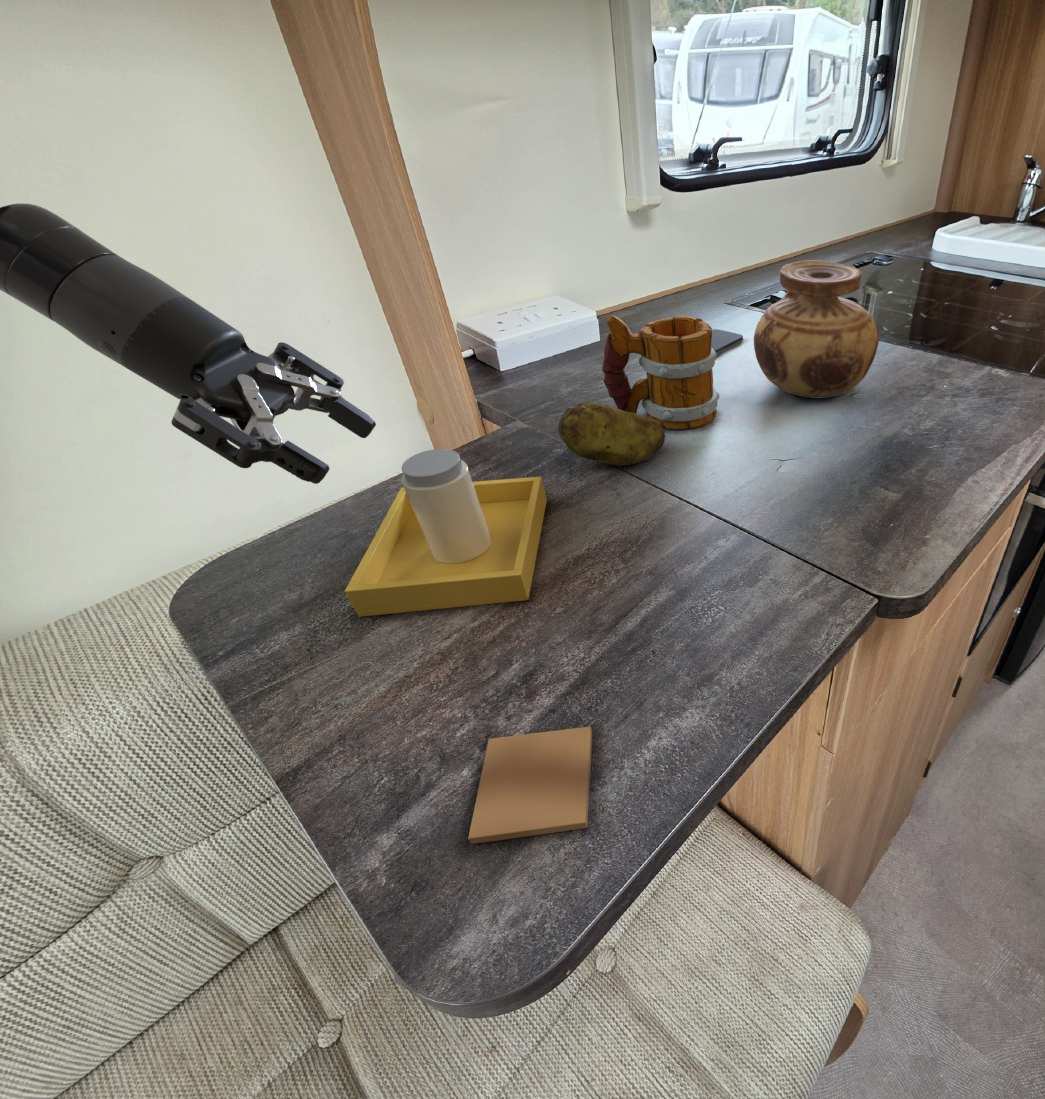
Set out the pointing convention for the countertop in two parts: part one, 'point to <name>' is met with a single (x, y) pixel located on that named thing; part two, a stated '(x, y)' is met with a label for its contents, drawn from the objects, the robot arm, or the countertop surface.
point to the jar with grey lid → (446, 505)
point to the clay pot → (816, 332)
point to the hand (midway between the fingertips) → (349, 452)
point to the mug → (664, 370)
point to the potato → (610, 434)
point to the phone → (724, 339)
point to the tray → (426, 584)
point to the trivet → (533, 785)
